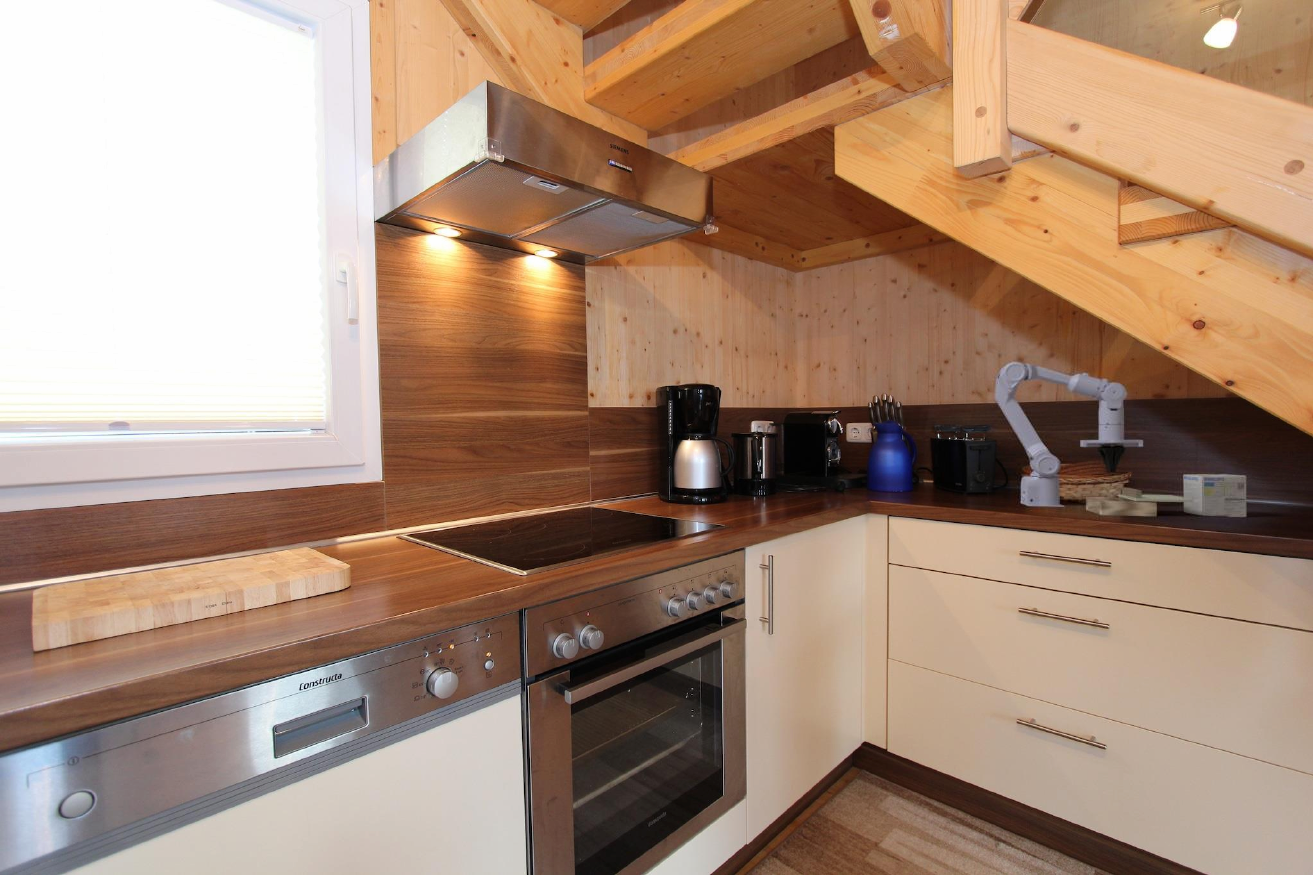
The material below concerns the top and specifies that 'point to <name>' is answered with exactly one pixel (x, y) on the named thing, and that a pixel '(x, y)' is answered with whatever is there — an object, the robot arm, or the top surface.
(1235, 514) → the light bulb box
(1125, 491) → the lid
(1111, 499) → the pine box
